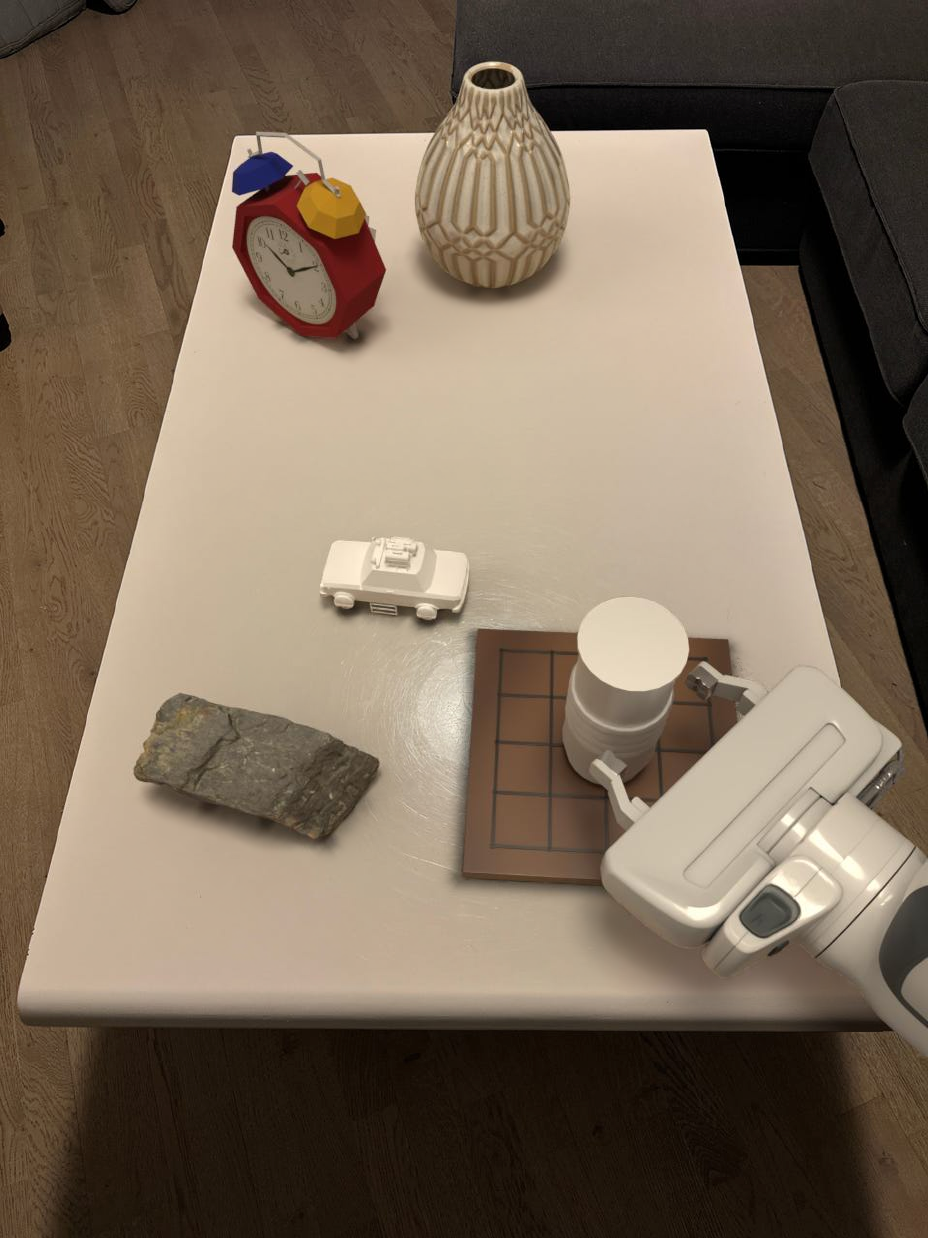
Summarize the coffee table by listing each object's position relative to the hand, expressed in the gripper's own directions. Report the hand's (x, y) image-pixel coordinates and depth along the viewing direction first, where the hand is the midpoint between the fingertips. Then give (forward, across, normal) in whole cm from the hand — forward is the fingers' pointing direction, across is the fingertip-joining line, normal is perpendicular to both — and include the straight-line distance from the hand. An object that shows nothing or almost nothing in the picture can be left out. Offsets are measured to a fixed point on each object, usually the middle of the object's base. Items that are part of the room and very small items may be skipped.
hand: (646, 714), depth 62 cm
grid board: (+2, 0, +10) cm, 10 cm away
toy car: (+24, +2, +10) cm, 26 cm away
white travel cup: (+2, 0, +9) cm, 9 cm away
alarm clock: (+56, -16, +10) cm, 60 cm away
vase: (+50, -34, +10) cm, 62 cm away
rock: (+18, +20, +10) cm, 29 cm away
